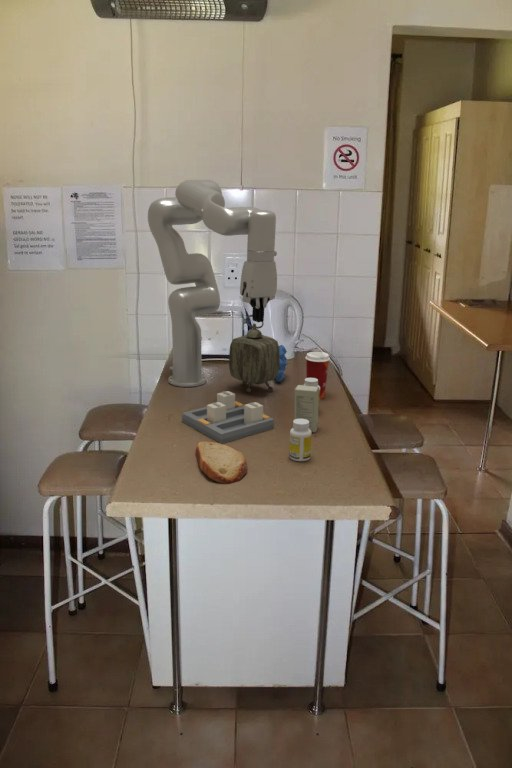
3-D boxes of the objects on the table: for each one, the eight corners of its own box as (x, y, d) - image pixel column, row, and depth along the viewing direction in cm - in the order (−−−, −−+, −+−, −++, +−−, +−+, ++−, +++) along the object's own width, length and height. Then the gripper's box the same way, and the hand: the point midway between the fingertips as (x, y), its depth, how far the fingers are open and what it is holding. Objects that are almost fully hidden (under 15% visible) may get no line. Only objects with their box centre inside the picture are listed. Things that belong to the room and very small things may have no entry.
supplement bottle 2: (307, 416, 194) (309, 383, 191) (296, 410, 199) (297, 378, 195) (322, 413, 197) (324, 380, 194) (311, 407, 202) (312, 375, 198)
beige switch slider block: (216, 411, 193) (217, 392, 191) (228, 408, 196) (228, 389, 194) (223, 414, 191) (223, 395, 189) (234, 411, 193) (235, 393, 191)
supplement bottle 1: (309, 453, 170) (311, 417, 167) (311, 462, 165) (313, 425, 162) (288, 452, 170) (289, 417, 167) (289, 461, 165) (291, 425, 162)
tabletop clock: (278, 392, 214) (281, 316, 206) (262, 399, 208) (264, 321, 200) (243, 382, 223) (244, 309, 215) (226, 389, 216) (226, 314, 208)
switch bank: (182, 421, 188) (182, 411, 187) (232, 408, 199) (233, 399, 198) (221, 443, 174) (221, 433, 173) (273, 428, 185) (274, 418, 184)
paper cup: (332, 399, 209) (334, 356, 205) (310, 401, 206) (312, 358, 202) (320, 391, 216) (323, 349, 211) (299, 393, 213) (301, 351, 209)
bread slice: (202, 445, 174) (202, 432, 173) (265, 459, 167) (265, 445, 166) (165, 472, 159) (165, 458, 157) (233, 488, 152) (233, 473, 150)
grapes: (269, 374, 232) (270, 340, 229) (288, 375, 231) (290, 342, 228) (265, 384, 221) (265, 349, 218) (285, 385, 220) (286, 351, 217)
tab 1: (207, 423, 184) (207, 403, 182) (218, 420, 187) (218, 400, 185) (214, 427, 182) (214, 407, 180) (225, 424, 184) (226, 404, 182)
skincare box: (318, 427, 186) (320, 386, 183) (315, 433, 183) (317, 391, 179) (295, 424, 188) (297, 383, 184) (292, 430, 184) (294, 388, 180)
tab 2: (244, 423, 185) (244, 403, 183) (255, 420, 187) (255, 401, 185) (251, 427, 182) (251, 407, 180) (262, 424, 185) (263, 404, 183)
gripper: (273, 252, 190) (270, 315, 196) (230, 256, 182) (228, 321, 188) (290, 256, 185) (286, 320, 191) (246, 260, 176) (244, 327, 182)
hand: (257, 320), depth 189 cm, fingers closed
